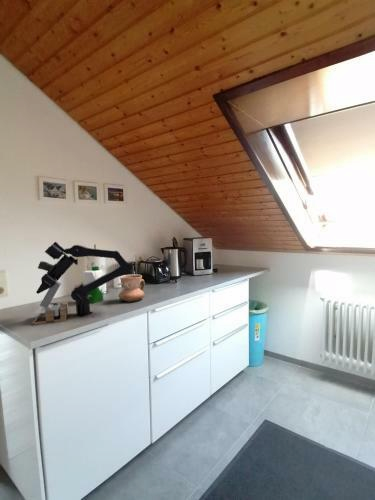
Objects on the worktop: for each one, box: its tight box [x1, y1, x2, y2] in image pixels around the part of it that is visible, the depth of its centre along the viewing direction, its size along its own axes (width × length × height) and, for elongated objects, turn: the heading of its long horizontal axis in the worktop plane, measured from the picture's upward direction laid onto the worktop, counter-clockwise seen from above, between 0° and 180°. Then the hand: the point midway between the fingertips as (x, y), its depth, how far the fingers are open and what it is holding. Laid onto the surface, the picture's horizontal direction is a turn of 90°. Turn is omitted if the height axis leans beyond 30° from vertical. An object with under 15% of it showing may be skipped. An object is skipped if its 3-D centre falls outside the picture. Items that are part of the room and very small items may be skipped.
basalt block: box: [39, 281, 62, 309], centre depth 136 cm, size 4×5×12 cm
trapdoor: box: [34, 303, 62, 317], centre depth 136 cm, size 12×10×3 cm
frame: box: [32, 301, 70, 326], centre depth 137 cm, size 16×14×6 cm
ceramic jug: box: [117, 273, 146, 302], centre depth 166 cm, size 18×14×14 cm
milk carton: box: [82, 265, 104, 304], centre depth 166 cm, size 9×9×20 cm
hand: (38, 291), depth 135 cm, fingers open, 9 cm apart
